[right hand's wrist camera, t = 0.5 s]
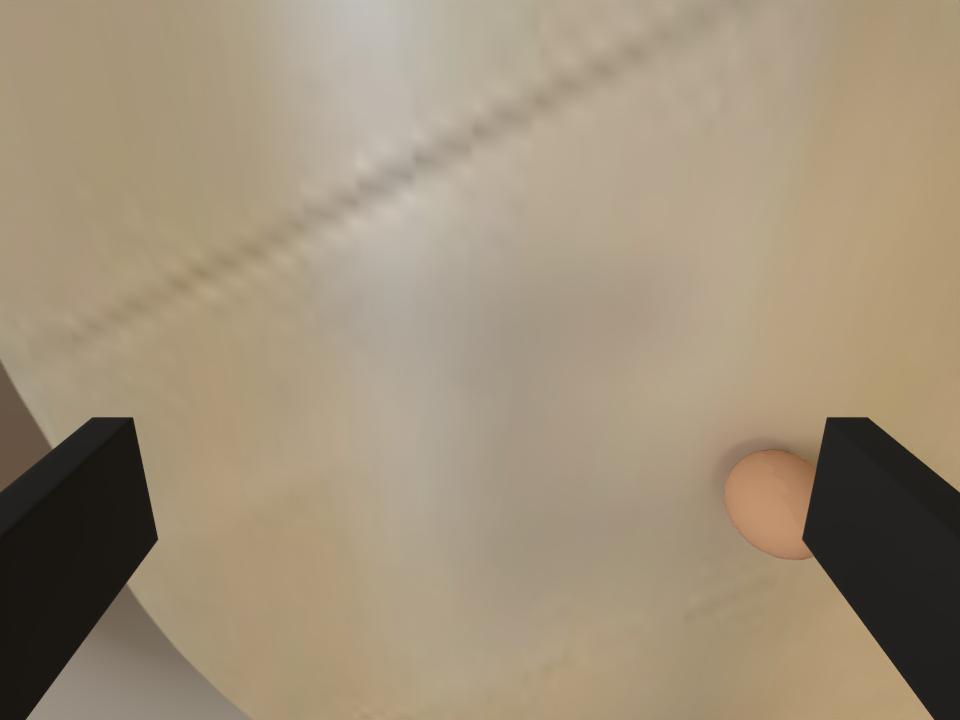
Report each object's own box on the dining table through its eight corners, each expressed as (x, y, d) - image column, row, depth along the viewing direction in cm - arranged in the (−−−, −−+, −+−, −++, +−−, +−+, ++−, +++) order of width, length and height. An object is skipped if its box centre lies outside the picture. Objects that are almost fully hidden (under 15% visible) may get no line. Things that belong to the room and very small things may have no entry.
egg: (714, 517, 46) (759, 596, 39) (704, 441, 44) (749, 510, 37) (803, 499, 45) (866, 576, 38) (797, 422, 43) (862, 487, 36)
